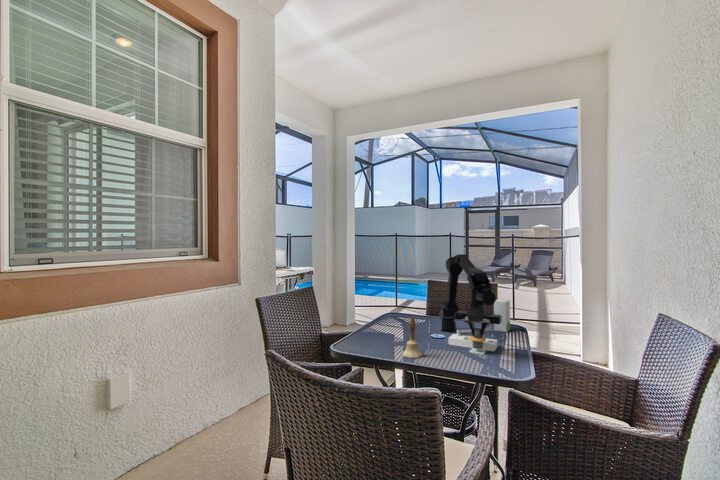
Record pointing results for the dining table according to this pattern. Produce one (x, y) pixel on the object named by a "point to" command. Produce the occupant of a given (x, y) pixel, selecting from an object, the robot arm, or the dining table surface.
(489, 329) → the clip
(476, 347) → the plug
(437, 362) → the dining table surface
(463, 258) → the robot arm
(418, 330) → the dining table surface
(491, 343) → the power strip
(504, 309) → the skincare box
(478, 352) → the mat
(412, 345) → the hand bell
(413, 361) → the dining table surface
